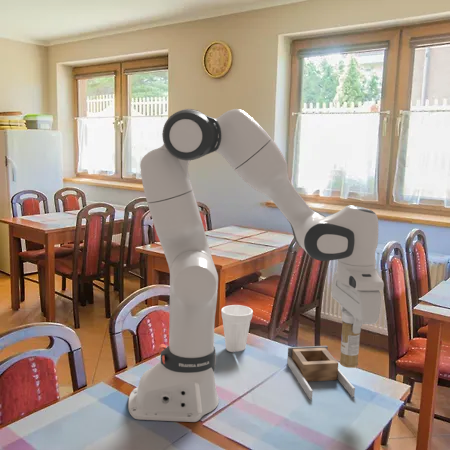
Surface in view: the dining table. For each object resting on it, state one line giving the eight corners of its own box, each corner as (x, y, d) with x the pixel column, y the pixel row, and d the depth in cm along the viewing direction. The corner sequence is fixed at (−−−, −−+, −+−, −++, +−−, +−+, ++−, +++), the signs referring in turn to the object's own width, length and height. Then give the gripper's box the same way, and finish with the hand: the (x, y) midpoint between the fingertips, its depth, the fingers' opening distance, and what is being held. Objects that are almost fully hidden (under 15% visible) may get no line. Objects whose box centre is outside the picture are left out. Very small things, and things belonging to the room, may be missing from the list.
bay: (309, 402, 123) (311, 380, 122) (287, 366, 142) (288, 347, 141) (354, 399, 125) (355, 378, 124) (325, 364, 144) (327, 345, 143)
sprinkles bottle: (337, 360, 122) (339, 309, 120) (355, 360, 122) (358, 309, 120) (342, 368, 118) (345, 316, 115) (360, 368, 118) (363, 316, 115)
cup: (255, 355, 149) (256, 315, 147) (223, 357, 147) (224, 316, 145) (246, 342, 159) (248, 304, 156) (217, 344, 156) (218, 305, 154)
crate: (302, 381, 132) (303, 364, 131) (291, 365, 141) (292, 348, 140) (337, 379, 133) (338, 363, 132) (324, 363, 143) (325, 347, 142)
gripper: (327, 262, 125) (323, 313, 128) (360, 285, 106) (355, 345, 108) (350, 262, 126) (346, 312, 129) (387, 285, 107) (382, 344, 109)
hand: (350, 327), depth 118 cm, fingers closed on sprinkles bottle, 4 cm apart
